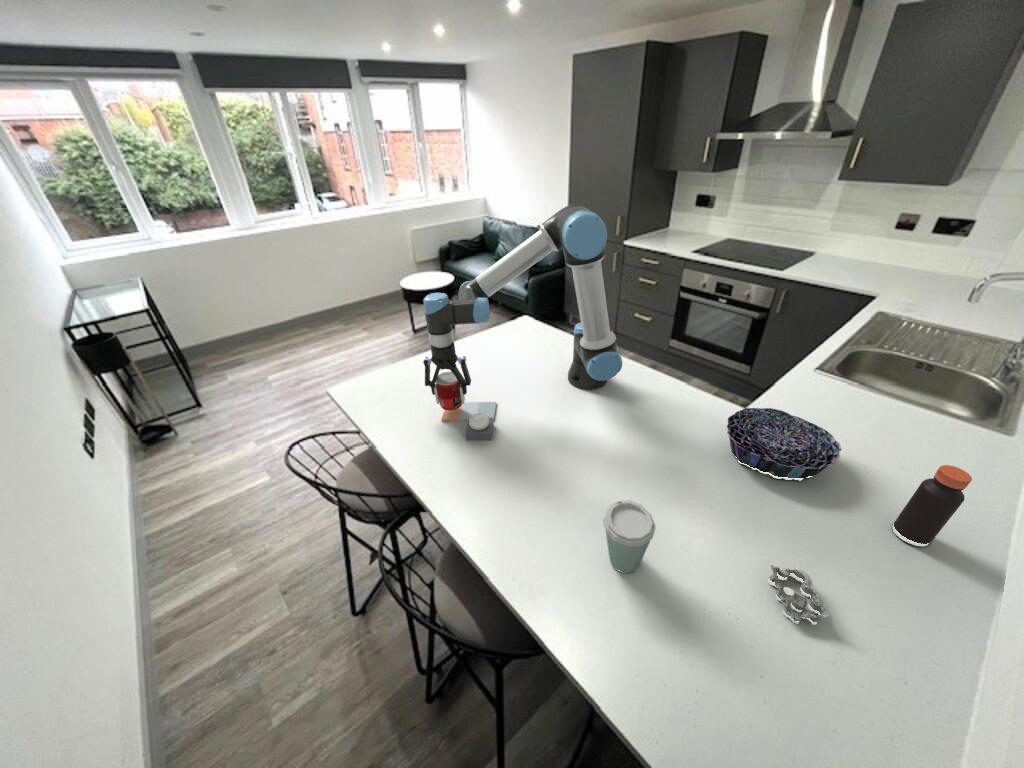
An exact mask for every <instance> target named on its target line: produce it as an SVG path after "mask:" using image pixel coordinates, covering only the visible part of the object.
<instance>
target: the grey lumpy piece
mask: <svg viewBox="0 0 1024 768" xmlns="http://www.w3.org/2000/svg"><path fill="white" fill-rule="evenodd" d="M770 568H771V570H772V572H773V574H772V573H771V574H772V575H770V576H769V577H768V579H769V578H770V580H771V581H772V582H775V585H776V587H777V589H776V592H775V594H777V596H778V597H779V598H780V599H781V601H782V603H781V604H782V606H783V610H784V611H785V613H786V614H787V615H789V616H791V618H793V619H794V621H800V622H801V620H802V619H803V618H802V617H805V618H810V619H811V620H812V621H813V622H817V623H818V624H819V622H820V621H821V620H822V619H824V618H828V617H830V615H829V612H828V611H827V610H826V608H825V606H824V605H823V602H822V600H821V597H820V595H819V594H818V591H817V589H816V588H815V586H814V583H813V580H812V578H811V577H810V575H809V574H808V573H807V572H804V571H803V570H801V569H800V570H799V569H789V568H786V569H781V568H780V567H778V566H774V565H770ZM777 572H778V574H779V575H780V576H782V577H784V578H785V577H788V578H790V577H789V575H790V573H794V574H795V575H796V576H797V577H799V578H802V579H803V581H804V582H803V583H802V584H801V585H800V586H801V588H802V590H803V591H804V592H805V593H807V594H810V595H811V600H810V599H809V602H808V601H807V597H805V596H803V595H801V594H800V595H799V594H797V593H795V595H794V596H792V599H791V601H792V605H793V606H794V607H795V608H796V609H798V610H803V612H801V615H800V617H797V616H796V615H795V613H793V612H792V611H788V609H787V608H788V607H789V606H790V599H789V598H788V597H784V596H783V595H781V594H780V591H781V590H782V588H783V585H782V581H781V580H779V579H778V576H777ZM808 603H809V604H810V606H811V607H812V608H813V609H814V610H817V611H819V612H820V614H821V615H818V614H815V613H810V611H804V610H805V609H806V607H808Z"/></svg>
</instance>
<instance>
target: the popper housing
mask: <svg viewBox="0 0 1024 768" xmlns="http://www.w3.org/2000/svg"><path fill="white" fill-rule="evenodd" d="M493 430H494V421H493V417H489V425H488V427H486V428H485V429H482V430H474V429H472V428H471V427H470V426H469V419H468V421H467V426H466V428H465V440H466V441H492V437H493V433H494V432H493Z"/></svg>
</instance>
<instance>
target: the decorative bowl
mask: <svg viewBox="0 0 1024 768" xmlns="http://www.w3.org/2000/svg"><path fill="white" fill-rule="evenodd" d="M726 428H727V433H726V434H727V435H728V438H729V444H730V449H731V454H732V455H733V454H734V455H735V456H736V457H737V459H738V460H739V461H740V462H741V463H744V464H747V465H749V466H750V467H753V468H757V469H759V470H760V471H763V472H769V473H771V474H772V475H774V476H778V477H788V478H806V477H808V476H814V475H815V476H817V475H818V474H819V473H821V472H822V471H824V470H825V469H826V468H827V467H829V466H832V465H834V464H835V462H837V460H838V459H839V458H840V457H841V452H842V446H841V443H840V442H838V440H837V439H835V437H834V436H833V434H831V433H830V432H829V431H828V430H826V429H825V428H822V427H821V426H818V425H817V424H815V423H813V422H810V421H808V420H806V419H803V418H801V417H799V416H795V415H792V414H790V413H789V412H786V411H784V410H782V409H776V408H773V407H772V408H771V407H768V408H767V407H766V408H760V407H757V408H755V407H745V408H743V409H740V410H738V411H735V413H733V414H732V415H730V416H729V417H727V426H726ZM734 455H733V456H734ZM735 456H734V457H735ZM737 459H736V460H737ZM815 476H814V477H815Z"/></svg>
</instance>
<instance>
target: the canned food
mask: <svg viewBox="0 0 1024 768" xmlns="http://www.w3.org/2000/svg"><path fill="white" fill-rule="evenodd" d="M435 384H436V385H437V391H438V397H439V406H440V408H441V409H443V411H444V410H456V409H458V408H460V407H461V405H462V402H461V395H460V383H459V382H458V379H457V378H456V377H455V375H454V374H453V372H451V371H446V372H442V373H439V374H438V377H437V379H436V383H435Z"/></svg>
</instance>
